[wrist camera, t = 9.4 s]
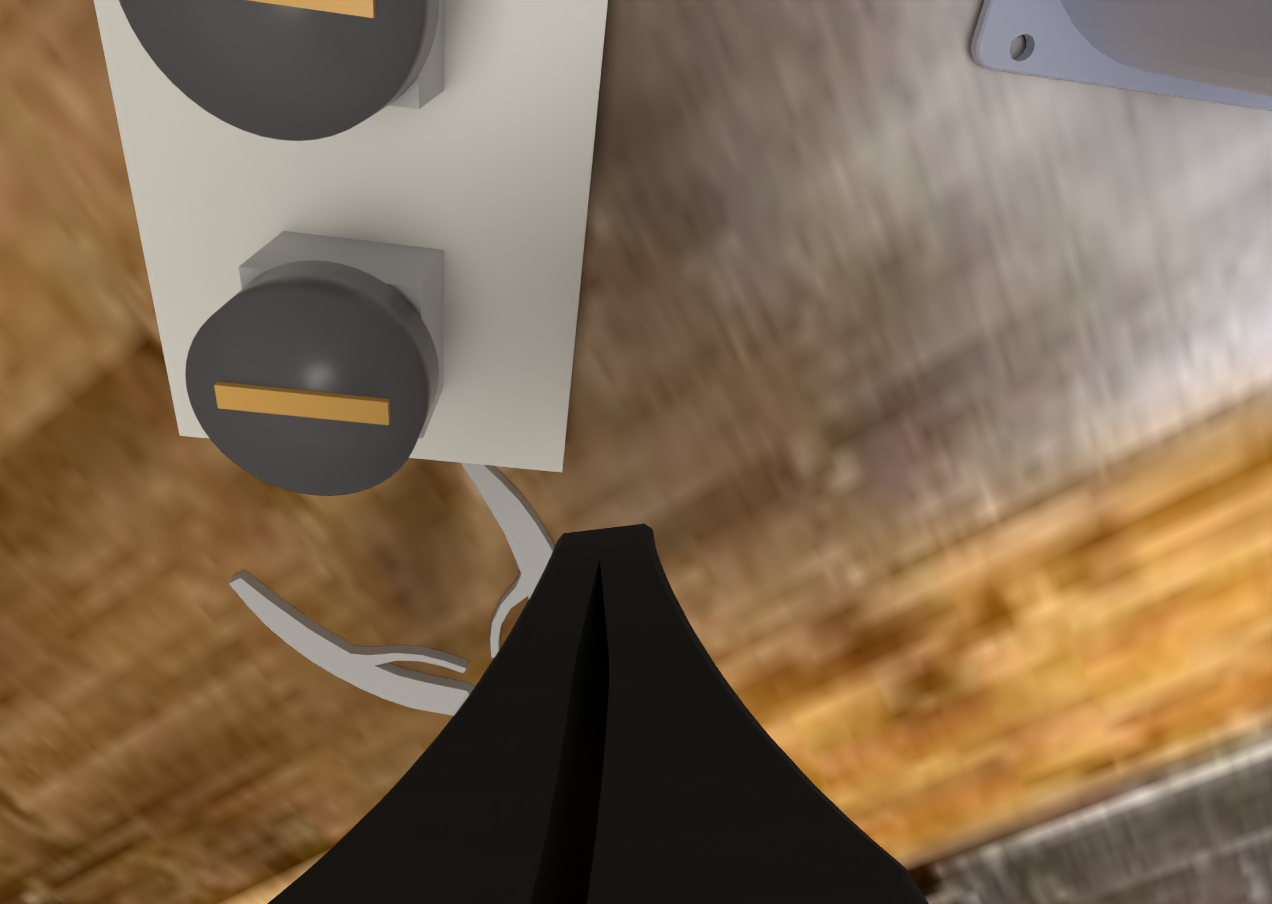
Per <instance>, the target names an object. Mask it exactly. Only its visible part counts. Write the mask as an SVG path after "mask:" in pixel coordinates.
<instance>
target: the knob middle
mask: <svg viewBox="0 0 1272 904" xmlns="http://www.w3.org/2000/svg"><path fill="white" fill-rule="evenodd" d="M119 2H120V5H121V7H122V9H123V11H124V13H125V16H126V18H127V20H128V22H129V24H130V26H131V28H132V30H133V31H134V33H135V35H136V36H137V38H138V40H139V41H140V43H141V45H142V46H143V48H144V49H145V51H146V52H147V53H148V55H149V56H150V57H151V59H152V60H153V61H154V63H155V64H156V65H157V67H158V68H159V69H160V70H161V71H162V72H163V73H164V74H165V76H166V77H167V78H168V79H169V80H170V81H171V82H172V83H173V84H174V85H175V86H176V87H177V88H178V89H179V90H180V91H182V92H183V93H184V94H185V95H186V96H187V97H188V98H189V99H191V100H192V101H193V102H195V103H196V104H197V105H199V106H200V107H201V108H203V109H204V110H205V111H207V112H209V113H210V114H212V115H214V116H215V117H217V118H219V119H220V120H222V121H224V122H226V123H228V124H230V125H232V126H234V127H237V128H239V129H241V130H243V131H246V132H249V133H253V134H256V135H259V136H262V137H267V138H272V139H278V140H289V141H305V140H317V139H321V138H326V137H330V136H334V135H336V134H339V133H341V132H344V131H347V130H349V129H351V128H352V127H354V126H356V125H358V124H359V123H361V122H363V121H364V120H366V119H368V118H369V117H371V116H372V115H374V114H376V113H377V112H379V111H380V110H382V109H384V108H385V107H387V106H389V105H390V104H391V103H393V102H394V101H395V100H396V99H398V98H399V97H400V96H401V95H403V93H404V92H405V91H406V90H407V89H408V88H409V87H410V86H411V85H412V84H413V82H414V81H415V79H416V78H417V76H418V75H419V73H420V72H421V70H422V69H423V67H424V65H425V62H426V60H427V58H428V56H429V54H430V51H431V48H432V45H433V42H434V38H435V34H436V29H437V23H438V15H439V0H119Z"/></svg>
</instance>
